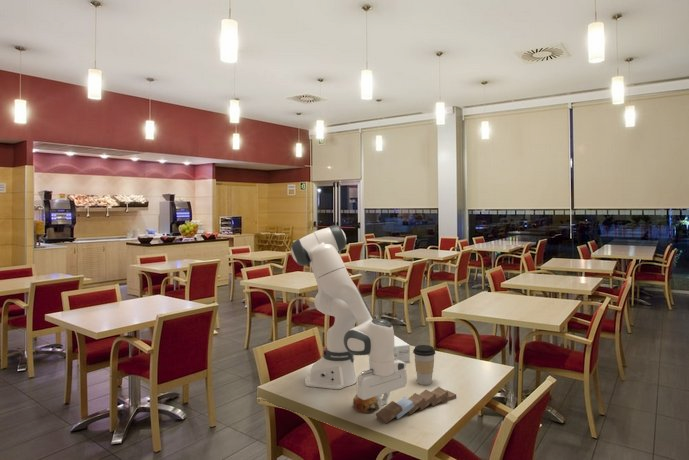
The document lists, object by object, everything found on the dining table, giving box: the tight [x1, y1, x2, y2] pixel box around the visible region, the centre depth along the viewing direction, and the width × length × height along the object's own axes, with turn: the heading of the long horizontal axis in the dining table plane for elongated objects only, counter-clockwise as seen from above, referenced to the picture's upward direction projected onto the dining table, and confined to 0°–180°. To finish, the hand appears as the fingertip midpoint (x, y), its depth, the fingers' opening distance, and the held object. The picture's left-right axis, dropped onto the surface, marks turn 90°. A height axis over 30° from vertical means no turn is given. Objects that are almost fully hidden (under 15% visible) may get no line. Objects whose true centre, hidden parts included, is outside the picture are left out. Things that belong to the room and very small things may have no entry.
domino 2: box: [394, 396, 414, 420], centre depth 162 cm, size 2×5×8 cm
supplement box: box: [393, 334, 411, 364], centre depth 221 cm, size 17×13×9 cm
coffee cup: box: [412, 344, 436, 386], centre depth 191 cm, size 9×9×15 cm
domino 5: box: [429, 386, 449, 407], centre depth 172 cm, size 2×5×8 cm
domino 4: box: [417, 389, 436, 412], centre depth 169 cm, size 2×5×8 cm
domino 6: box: [439, 389, 457, 404], centre depth 175 cm, size 2×5×8 cm
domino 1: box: [375, 400, 403, 424], centre depth 159 cm, size 2×5×8 cm
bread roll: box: [352, 393, 380, 414], centre depth 168 cm, size 10×10×8 cm
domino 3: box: [406, 392, 425, 415], centre depth 165 cm, size 2×5×8 cm
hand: (382, 405), depth 157 cm, fingers closed
